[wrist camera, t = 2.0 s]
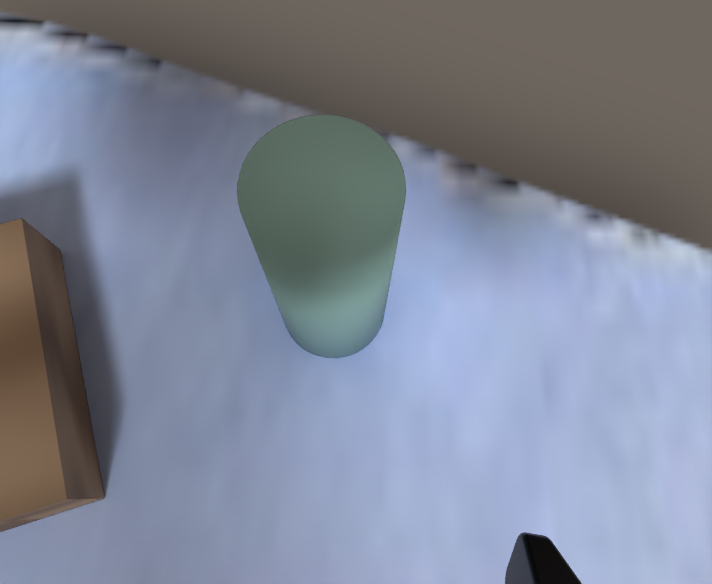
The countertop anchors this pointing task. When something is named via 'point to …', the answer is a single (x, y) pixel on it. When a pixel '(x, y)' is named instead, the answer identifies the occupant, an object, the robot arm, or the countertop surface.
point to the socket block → (40, 386)
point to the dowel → (325, 227)
